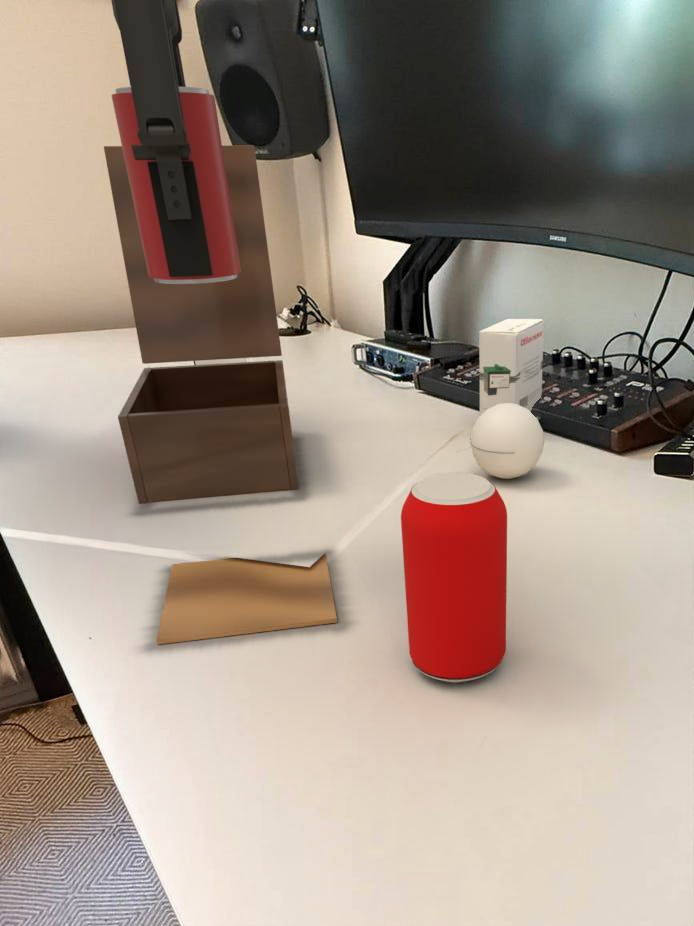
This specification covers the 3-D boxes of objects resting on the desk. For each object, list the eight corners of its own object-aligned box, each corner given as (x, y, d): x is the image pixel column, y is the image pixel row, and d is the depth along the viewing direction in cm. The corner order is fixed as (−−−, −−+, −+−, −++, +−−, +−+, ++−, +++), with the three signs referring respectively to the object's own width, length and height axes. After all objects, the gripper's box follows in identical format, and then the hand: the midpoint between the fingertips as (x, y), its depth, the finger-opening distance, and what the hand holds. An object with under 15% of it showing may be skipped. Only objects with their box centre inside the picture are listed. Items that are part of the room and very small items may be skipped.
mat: (337, 622, 56) (336, 617, 56) (157, 644, 54) (156, 639, 53) (325, 552, 66) (324, 548, 66) (173, 568, 64) (172, 564, 63)
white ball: (518, 460, 86) (520, 391, 82) (556, 481, 80) (559, 407, 76) (434, 476, 82) (432, 404, 78) (468, 499, 76) (467, 422, 72)
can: (131, 283, 54) (88, 88, 49) (183, 273, 59) (150, 94, 54) (211, 285, 53) (176, 84, 47) (258, 274, 58) (231, 91, 52)
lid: (254, 145, 82) (254, 147, 83) (103, 145, 79) (105, 148, 80) (281, 355, 88) (281, 356, 89) (142, 363, 85) (143, 363, 86)
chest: (300, 496, 77) (288, 405, 72) (140, 511, 74) (117, 416, 70) (292, 438, 93) (282, 359, 89) (161, 448, 90) (143, 367, 86)
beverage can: (397, 684, 49) (383, 500, 43) (426, 634, 55) (418, 464, 48) (493, 697, 48) (493, 510, 42) (514, 645, 53) (517, 471, 47)
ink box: (506, 415, 101) (506, 315, 95) (543, 419, 99) (546, 318, 93) (477, 434, 94) (476, 328, 88) (516, 439, 92) (518, 331, 86)
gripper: (168, -261, 37) (250, 284, 49) (192, -132, 53) (249, 255, 65) (-10, -277, 35) (119, 290, 47) (70, -139, 51) (151, 258, 63)
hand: (194, 269), depth 56 cm, fingers closed on can, 6 cm apart
